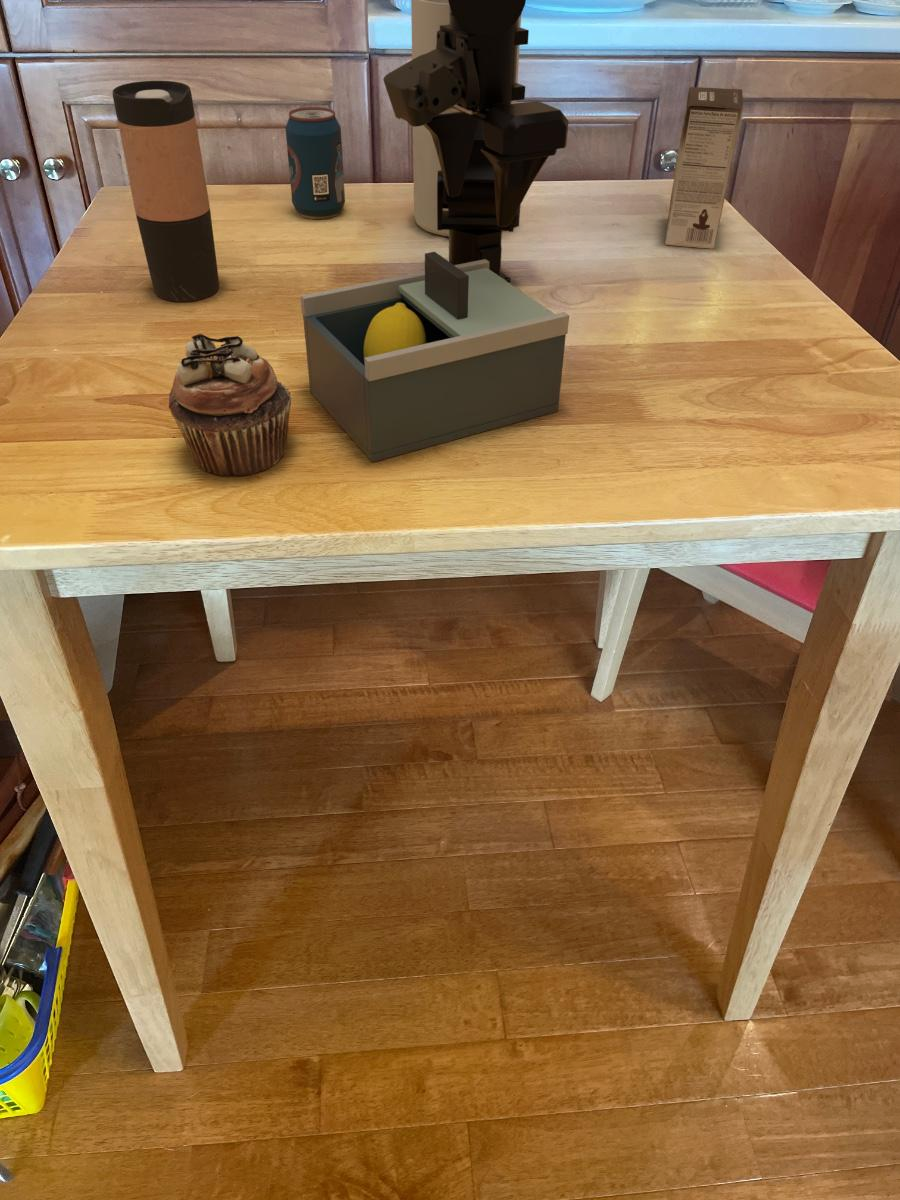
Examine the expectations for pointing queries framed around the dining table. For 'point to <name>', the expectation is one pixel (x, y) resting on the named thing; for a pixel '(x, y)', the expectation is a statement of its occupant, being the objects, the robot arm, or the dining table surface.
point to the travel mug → (168, 187)
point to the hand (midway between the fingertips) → (477, 210)
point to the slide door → (469, 298)
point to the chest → (426, 371)
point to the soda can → (315, 162)
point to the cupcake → (230, 407)
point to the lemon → (393, 331)
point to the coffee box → (703, 166)
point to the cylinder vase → (426, 20)
